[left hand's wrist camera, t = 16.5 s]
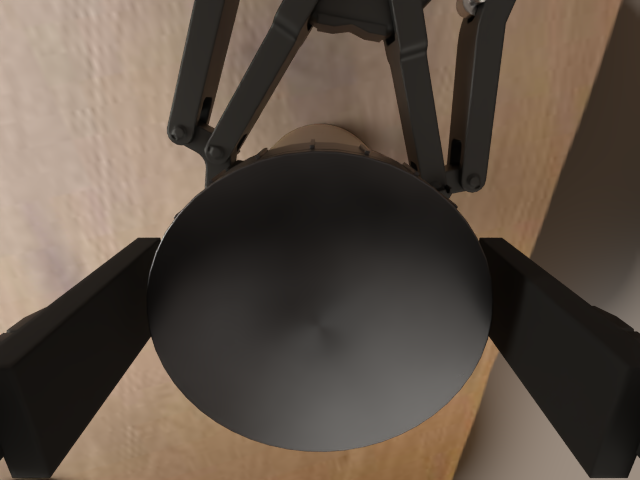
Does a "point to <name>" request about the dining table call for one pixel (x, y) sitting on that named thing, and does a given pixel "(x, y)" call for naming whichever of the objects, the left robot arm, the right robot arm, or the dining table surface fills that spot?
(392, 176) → the lid
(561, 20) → the dining table surface
